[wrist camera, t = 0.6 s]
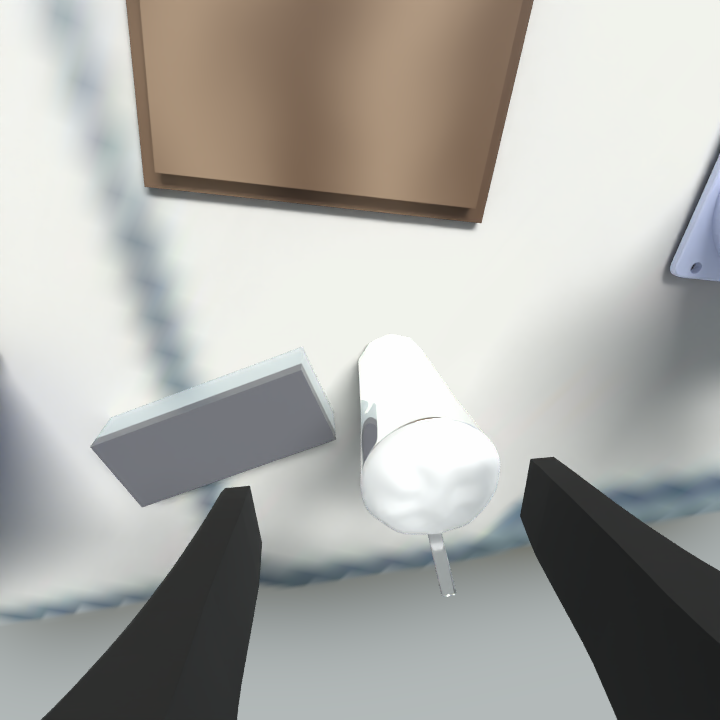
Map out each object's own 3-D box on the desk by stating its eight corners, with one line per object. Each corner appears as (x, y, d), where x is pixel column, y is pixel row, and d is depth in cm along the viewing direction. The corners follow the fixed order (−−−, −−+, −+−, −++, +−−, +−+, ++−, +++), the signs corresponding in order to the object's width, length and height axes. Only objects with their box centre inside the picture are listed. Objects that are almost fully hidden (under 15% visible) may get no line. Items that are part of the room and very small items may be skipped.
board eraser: (302, 343, 21) (301, 369, 18) (333, 408, 22) (335, 439, 20) (114, 413, 21) (90, 447, 19) (159, 470, 23) (142, 507, 21)
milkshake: (352, 421, 22) (377, 608, 14) (338, 327, 20) (359, 481, 11) (438, 409, 23) (518, 585, 14) (435, 314, 20) (531, 454, 11)
